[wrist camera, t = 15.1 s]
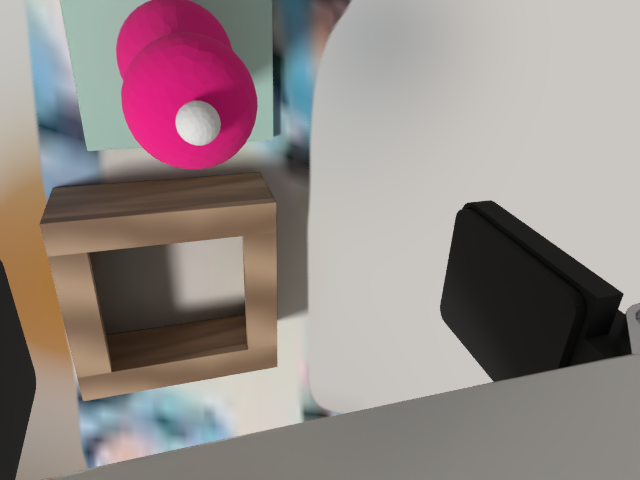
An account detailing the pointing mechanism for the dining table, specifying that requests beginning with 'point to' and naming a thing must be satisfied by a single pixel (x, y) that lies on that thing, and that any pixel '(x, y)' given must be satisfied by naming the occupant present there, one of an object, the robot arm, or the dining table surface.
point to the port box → (156, 229)
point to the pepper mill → (184, 85)
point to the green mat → (106, 82)
